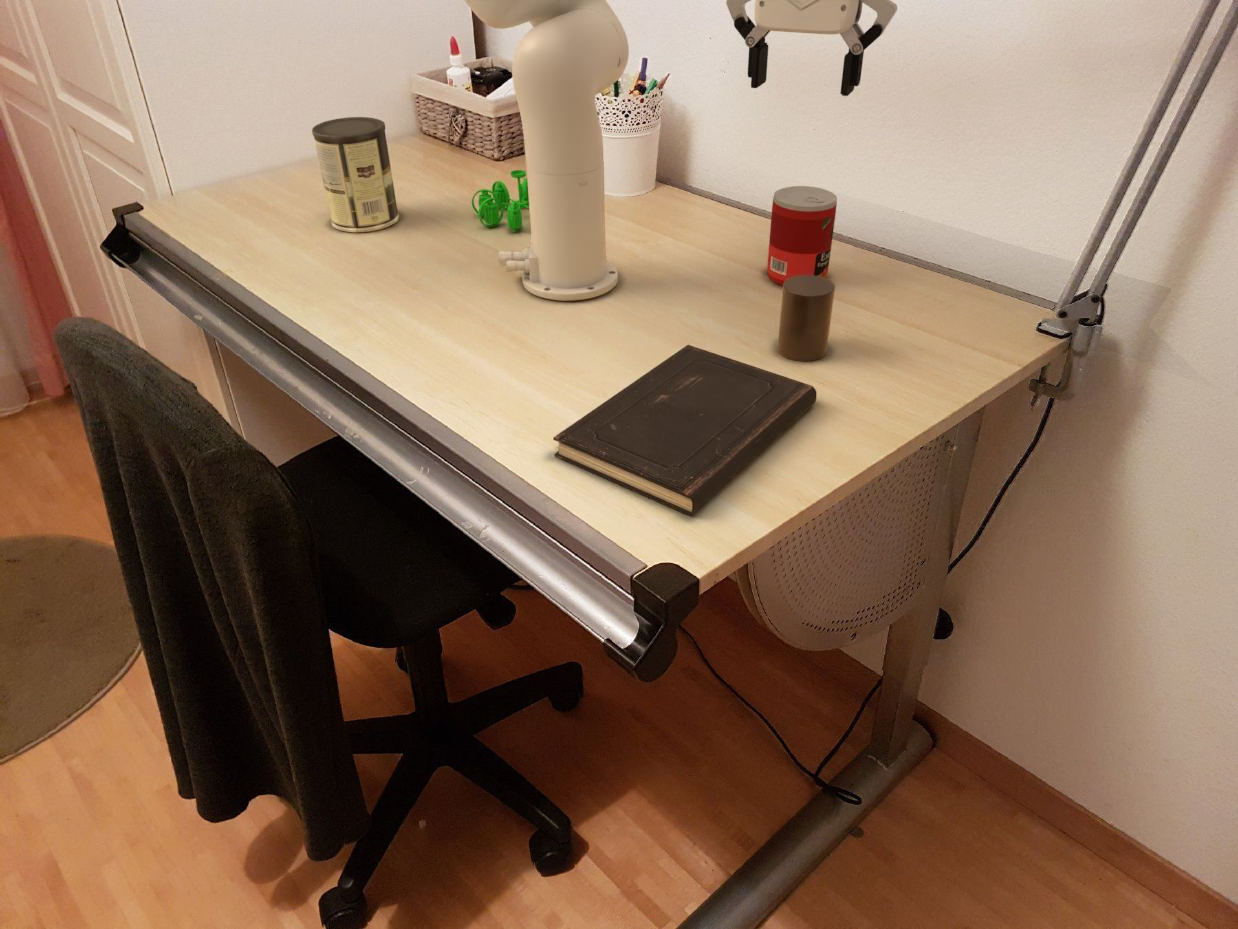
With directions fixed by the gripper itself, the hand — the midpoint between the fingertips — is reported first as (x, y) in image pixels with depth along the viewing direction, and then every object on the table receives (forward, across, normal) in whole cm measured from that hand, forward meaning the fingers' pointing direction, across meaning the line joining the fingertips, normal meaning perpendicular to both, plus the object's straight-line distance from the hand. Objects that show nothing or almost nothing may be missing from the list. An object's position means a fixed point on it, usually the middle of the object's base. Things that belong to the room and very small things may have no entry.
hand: (802, 88), depth 97 cm
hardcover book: (+27, -1, -28) cm, 39 cm away
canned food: (+27, -2, +12) cm, 29 cm away
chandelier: (+26, -46, +16) cm, 56 cm away
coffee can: (+26, -68, +6) cm, 73 cm away
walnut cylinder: (+26, +5, -7) cm, 28 cm away
